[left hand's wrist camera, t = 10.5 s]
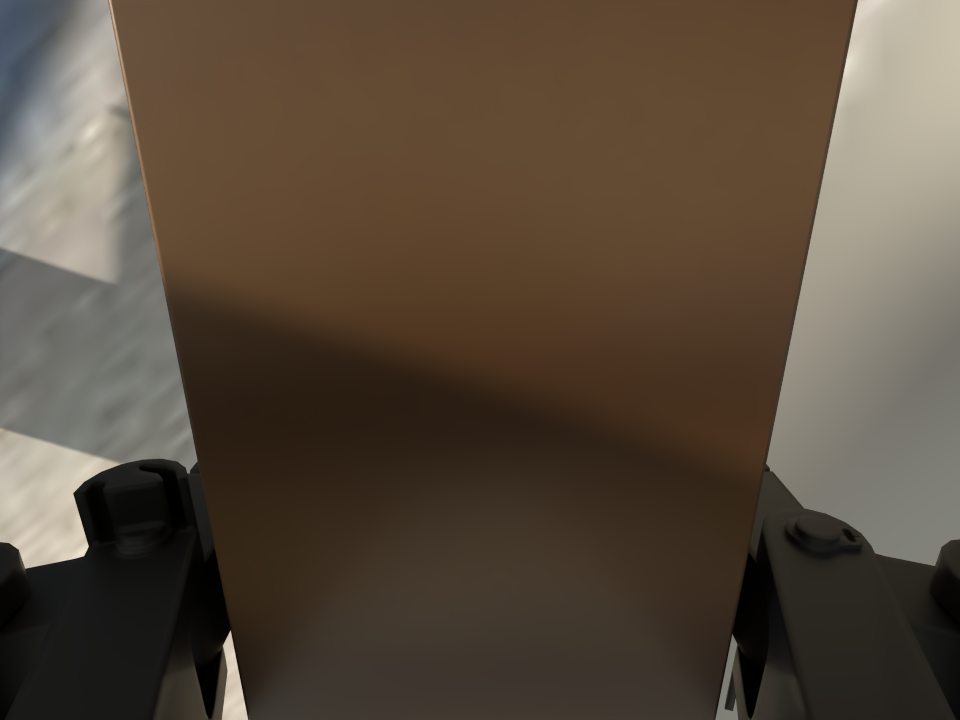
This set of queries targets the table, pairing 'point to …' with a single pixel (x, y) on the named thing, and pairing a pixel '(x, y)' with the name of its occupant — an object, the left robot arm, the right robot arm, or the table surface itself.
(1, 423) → the table surface
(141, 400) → the table surface
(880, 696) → the left robot arm
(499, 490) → the beam
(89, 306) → the table surface
